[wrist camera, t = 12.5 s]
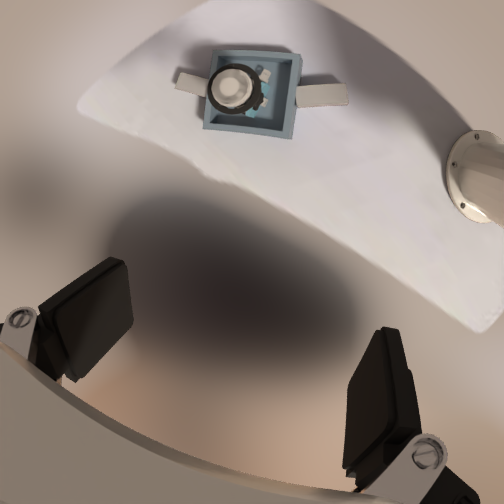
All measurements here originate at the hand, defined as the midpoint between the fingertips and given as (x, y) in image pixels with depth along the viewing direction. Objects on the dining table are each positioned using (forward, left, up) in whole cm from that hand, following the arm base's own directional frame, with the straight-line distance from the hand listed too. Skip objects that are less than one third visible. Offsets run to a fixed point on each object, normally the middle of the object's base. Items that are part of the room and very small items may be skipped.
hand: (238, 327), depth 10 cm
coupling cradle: (+8, -11, -28) cm, 31 cm away
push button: (+8, -11, -28) cm, 31 cm away
